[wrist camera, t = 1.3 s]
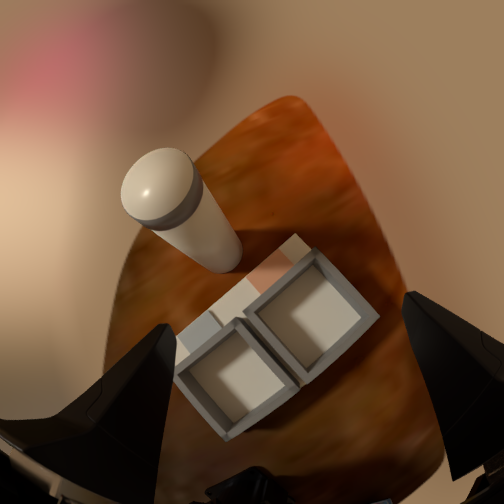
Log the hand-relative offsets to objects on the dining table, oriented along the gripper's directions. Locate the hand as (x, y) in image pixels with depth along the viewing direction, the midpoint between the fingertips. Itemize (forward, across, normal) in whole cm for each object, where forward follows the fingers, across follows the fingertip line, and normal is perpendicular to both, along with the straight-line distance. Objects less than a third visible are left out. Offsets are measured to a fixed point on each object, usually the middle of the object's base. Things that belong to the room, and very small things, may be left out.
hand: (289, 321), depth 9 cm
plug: (+14, +5, +4) cm, 16 cm away
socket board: (+9, +2, +10) cm, 13 cm away
